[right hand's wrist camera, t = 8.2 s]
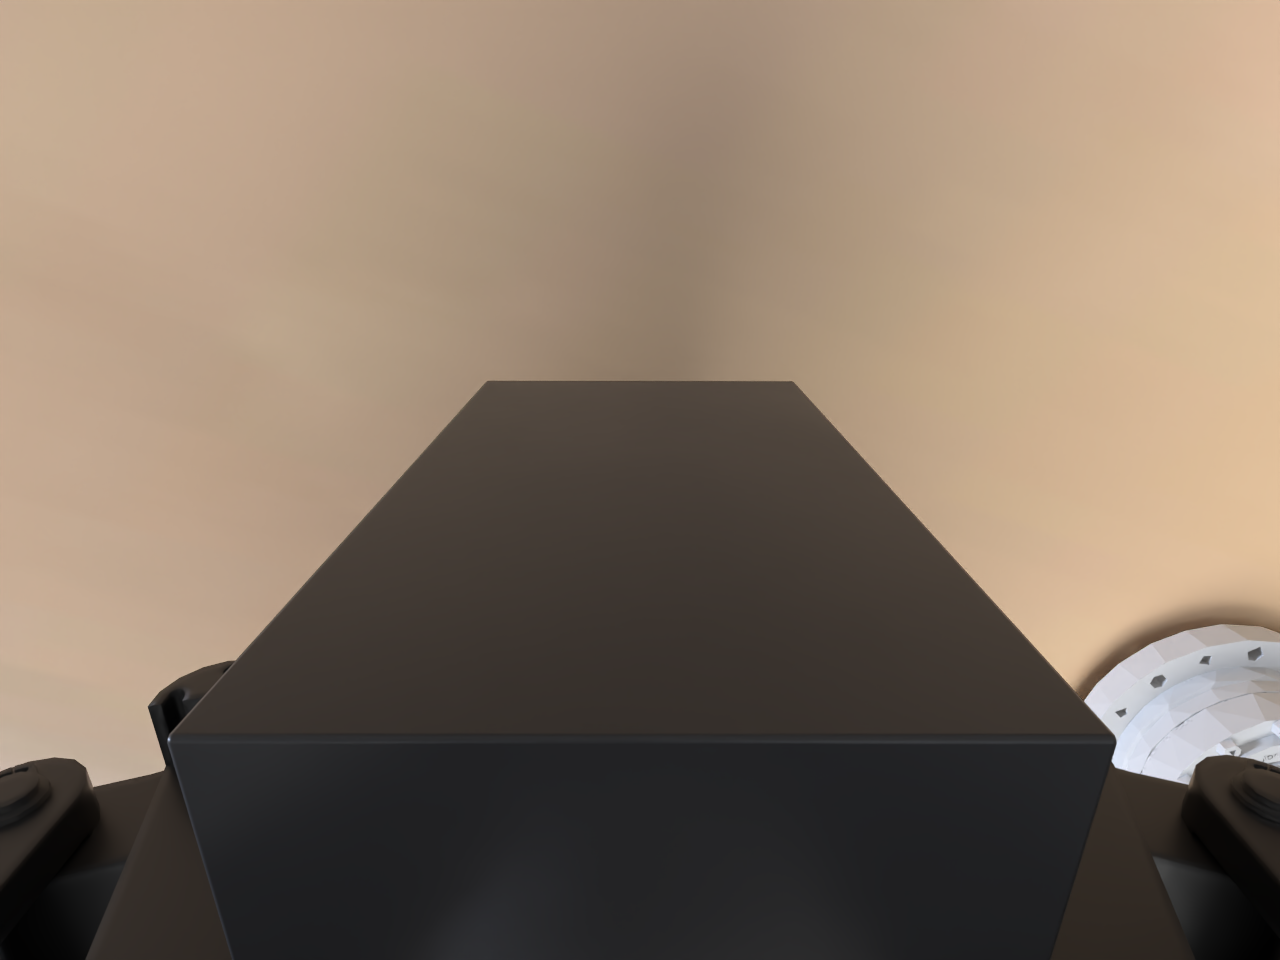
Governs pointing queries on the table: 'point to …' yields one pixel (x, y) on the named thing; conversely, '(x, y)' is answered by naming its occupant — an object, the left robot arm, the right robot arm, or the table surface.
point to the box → (641, 709)
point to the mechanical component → (1194, 701)
